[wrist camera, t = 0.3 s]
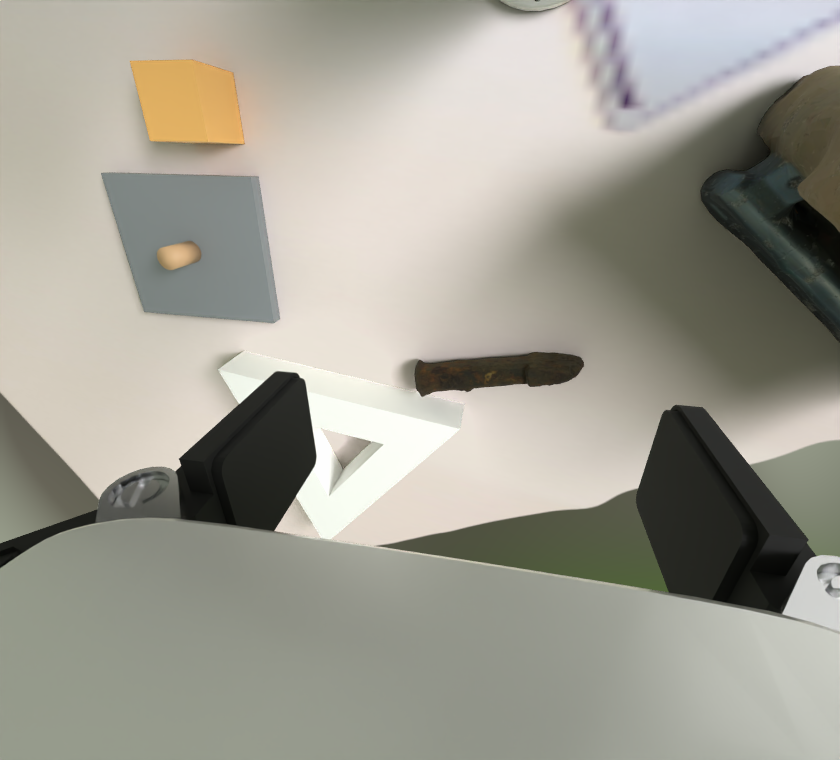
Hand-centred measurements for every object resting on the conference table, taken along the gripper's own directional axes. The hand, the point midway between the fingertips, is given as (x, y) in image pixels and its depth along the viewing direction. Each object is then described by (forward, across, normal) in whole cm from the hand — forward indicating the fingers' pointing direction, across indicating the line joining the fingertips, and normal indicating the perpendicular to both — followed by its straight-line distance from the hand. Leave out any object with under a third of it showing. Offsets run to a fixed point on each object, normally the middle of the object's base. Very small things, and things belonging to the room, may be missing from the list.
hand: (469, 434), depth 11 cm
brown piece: (+36, -1, +14) cm, 39 cm away
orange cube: (+36, +30, -11) cm, 48 cm away
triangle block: (+37, +19, +31) cm, 52 cm away
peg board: (+36, +35, +3) cm, 50 cm away
